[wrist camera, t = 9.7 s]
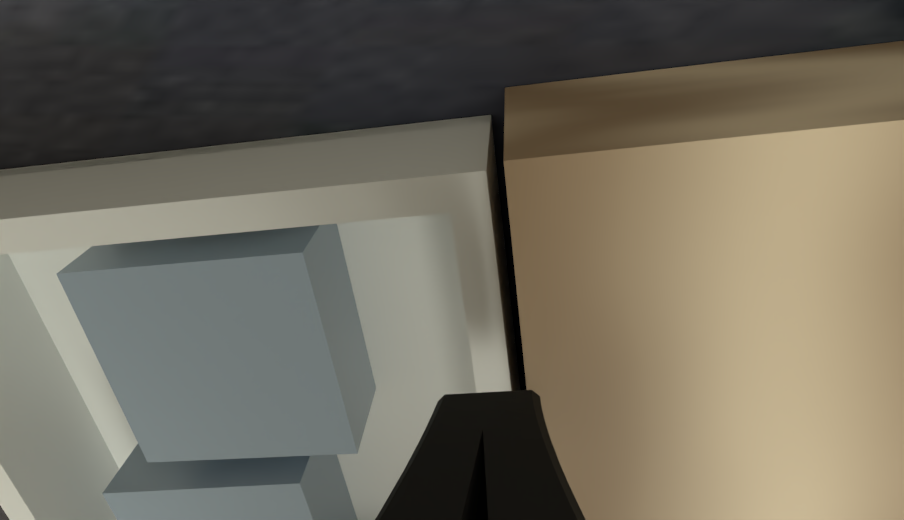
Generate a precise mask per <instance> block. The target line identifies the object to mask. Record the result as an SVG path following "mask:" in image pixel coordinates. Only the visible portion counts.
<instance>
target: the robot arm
mask: <svg viewBox="0 0 904 520" xmlns="http://www.w3.org/2000/svg"><path fill="white" fill-rule="evenodd" d="M375 520H585V517H584V515H583V513H582V511H581V509H580V507H579V505H578V503H577V501H576V498H575V496H574V494H573V492H572V490H571V488H570V486H569V484H568V481H567V479H566V477H565V474H564V472H563V470H562V467H561V465H560V463H559V460H558V457H557V455H556V452H555V449H554V447H553V444H552V442H551V439H550V436H549V433H548V430H547V426H546V423H545V419H544V415H543V411H542V406H541V399H540V396H539V395H538V394H537V393H535V392H534V391H533V390H519V391H500V392H482V393H463V394H445V395H444V396H443V397H442V398H441V399H440V400H439V401H438V402H437V405H436V407H435V409H434V411H433V414H432V416H431V418H430V420H429V422H428V424H427V427H426V429H425V431H424V433H423V435H422V437H421V439H420V441H419V443H418V445H417V447H416V448H415V450H414V452H413V454H412V456H411V458H410V460H409V462H408V463H407V465H406V467H405V469H404V471H403V473H402V474H401V476H400V478H399V480H398V481H397V483H396V485H395V487H394V488H393V490H392V492H391V493H390V495H389V497H388V499H387V500H386V502H385V504H384V505H383V507H382V509H381V511H380V512H379V514H378V516H377V517H376V519H375Z"/></svg>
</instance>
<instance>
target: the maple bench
mask: <svg viewBox="0 0 904 520" xmlns="http://www.w3.org/2000/svg"><path fill="white" fill-rule="evenodd" d="M504 171H505V180H506V190H507V200H508V210H509V220H510V230H511V240H512V250H513V260H514V270H515V280H516V290H517V300H518V309H519V319H520V329H521V339H522V349H523V359H524V369H525V379H526V389H527V390H533V391H534V392H535V393H537V394H538V395H539V396H540V399H541V406H542V411H543V415H544V419H545V423H546V426H547V430H548V433H549V436H550V439H551V442H552V444H553V447H554V449H555V452H556V455H557V457H558V460H559V463H560V465H561V467H562V470H563V472H564V474H565V477H566V479H567V481H568V484H569V486H570V488H571V490H572V492H573V494H574V496H575V498H576V501H577V503H578V505H579V507H580V509H581V511H582V513H583V515H584V517H585V520H904V41H897V42H888V43H880V44H871V45H863V46H854V47H846V48H837V49H829V50H820V51H812V52H803V53H795V54H786V55H778V56H769V57H760V58H752V59H743V60H735V61H726V62H718V63H709V64H701V65H692V66H684V67H675V68H667V69H658V70H650V71H641V72H633V73H624V74H616V75H607V76H599V77H590V78H582V79H573V80H565V81H556V82H548V83H539V84H531V85H522V86H514V87H505V111H504Z"/></svg>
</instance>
